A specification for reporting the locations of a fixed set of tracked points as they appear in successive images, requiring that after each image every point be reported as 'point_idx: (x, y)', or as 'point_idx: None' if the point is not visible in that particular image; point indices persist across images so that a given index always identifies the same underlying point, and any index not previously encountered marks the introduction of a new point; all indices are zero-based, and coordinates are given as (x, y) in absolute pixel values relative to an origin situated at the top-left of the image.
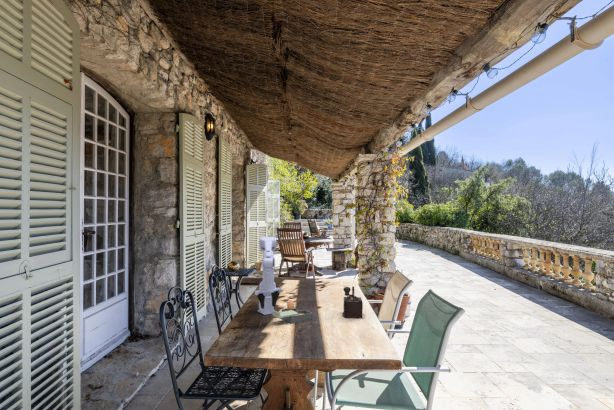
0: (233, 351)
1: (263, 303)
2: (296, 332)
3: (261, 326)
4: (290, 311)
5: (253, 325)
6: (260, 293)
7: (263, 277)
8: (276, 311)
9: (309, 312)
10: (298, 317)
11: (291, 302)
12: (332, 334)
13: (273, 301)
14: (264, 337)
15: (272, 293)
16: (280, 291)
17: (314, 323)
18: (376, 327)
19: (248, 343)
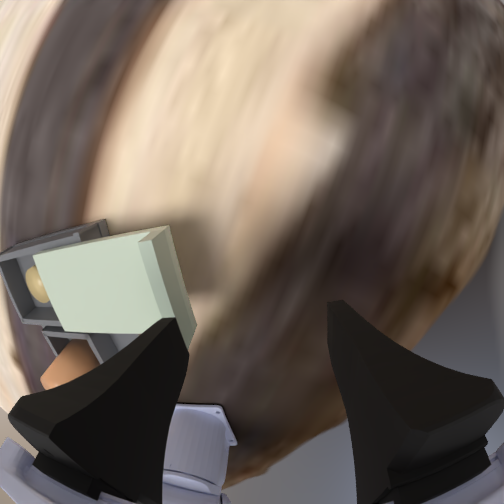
0: (492, 14)
1: (363, 335)
2: (130, 47)
3: (309, 247)
4: (70, 312)
5: (348, 287)
6: (450, 494)
7: None
8: (161, 305)
9: (5, 275)
10: (48, 239)
11: (51, 379)
12: (27, 22)
13: (159, 378)
14: (360, 37)
15: (141, 489)
16: (10, 445)
17: (16, 179)
18: None
19: (448, 27)
